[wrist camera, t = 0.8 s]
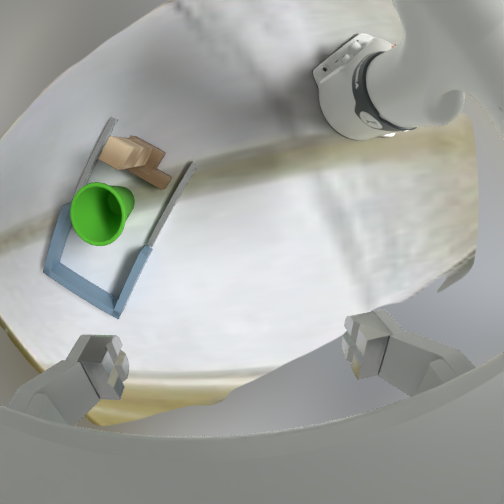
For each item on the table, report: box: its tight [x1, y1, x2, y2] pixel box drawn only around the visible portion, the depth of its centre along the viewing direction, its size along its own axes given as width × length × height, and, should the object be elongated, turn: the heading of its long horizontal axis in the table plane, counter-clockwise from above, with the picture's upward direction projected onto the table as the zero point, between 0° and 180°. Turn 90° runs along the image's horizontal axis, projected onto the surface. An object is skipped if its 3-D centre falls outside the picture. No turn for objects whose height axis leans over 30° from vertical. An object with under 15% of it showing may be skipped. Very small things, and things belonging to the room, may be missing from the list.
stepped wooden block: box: [98, 136, 172, 190], centre depth 35 cm, size 5×12×15 cm, turn 57°
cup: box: [70, 182, 134, 246], centre depth 39 cm, size 9×9×11 cm
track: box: [72, 117, 199, 247], centre depth 43 cm, size 16×18×1 cm
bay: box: [43, 202, 153, 319], centre depth 45 cm, size 14×18×4 cm
